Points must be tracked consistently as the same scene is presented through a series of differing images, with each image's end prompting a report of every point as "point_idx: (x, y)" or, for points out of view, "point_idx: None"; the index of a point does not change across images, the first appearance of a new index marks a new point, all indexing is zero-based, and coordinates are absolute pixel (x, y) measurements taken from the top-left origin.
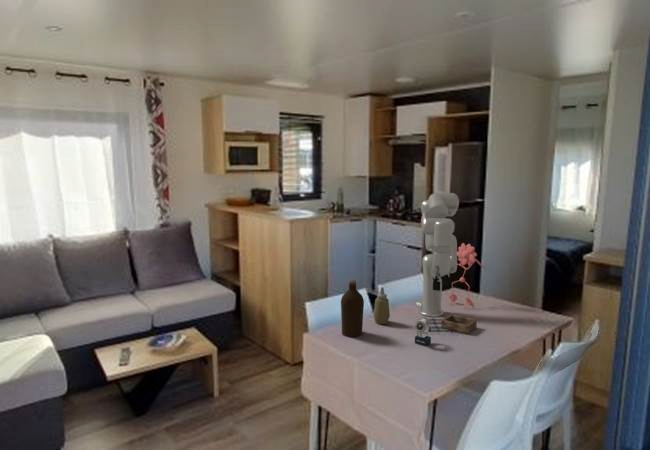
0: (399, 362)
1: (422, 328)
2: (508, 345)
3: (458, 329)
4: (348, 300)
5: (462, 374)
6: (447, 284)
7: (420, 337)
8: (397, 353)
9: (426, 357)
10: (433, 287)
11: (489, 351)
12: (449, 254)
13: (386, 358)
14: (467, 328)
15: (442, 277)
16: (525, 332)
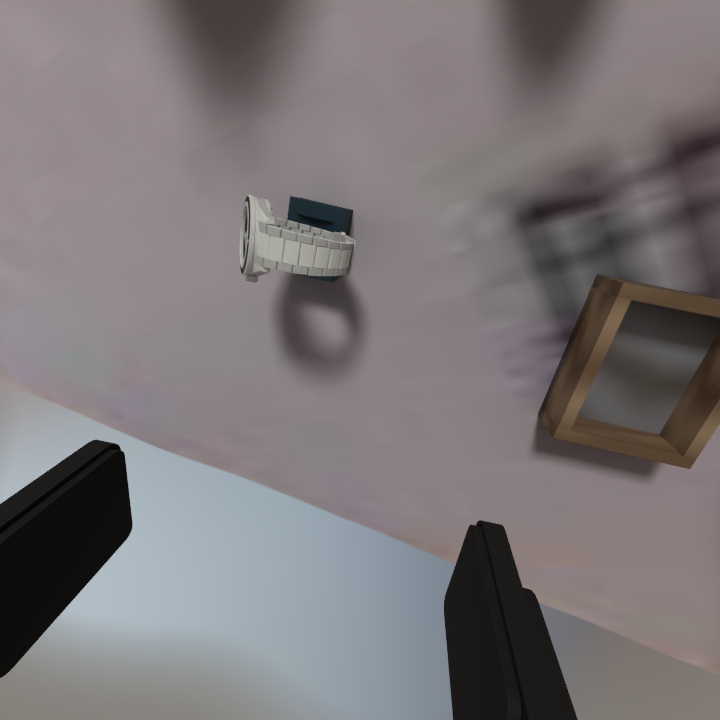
0: (71, 205)
1: (243, 254)
2: None
3: (562, 377)
4: None
5: (145, 436)
6: (447, 619)
7: (313, 225)
8: (141, 159)
9: (187, 298)
10: (66, 471)
11: (380, 499)
12: None
13: (62, 130)
14: (550, 429)
15: (502, 699)
16: (657, 609)
